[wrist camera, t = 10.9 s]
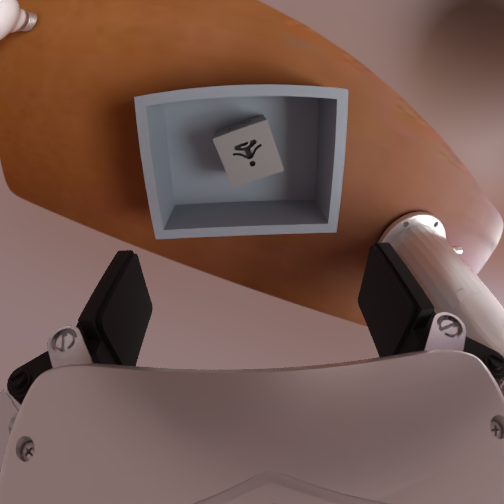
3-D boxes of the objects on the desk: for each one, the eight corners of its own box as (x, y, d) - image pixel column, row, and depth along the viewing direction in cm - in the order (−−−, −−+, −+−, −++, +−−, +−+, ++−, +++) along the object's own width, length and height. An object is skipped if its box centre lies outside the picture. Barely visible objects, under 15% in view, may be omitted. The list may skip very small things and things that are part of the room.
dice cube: (262, 114, 27) (266, 119, 23) (277, 157, 30) (284, 170, 25) (216, 130, 28) (212, 139, 24) (233, 172, 30) (232, 188, 26)
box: (325, 87, 26) (348, 89, 20) (319, 204, 34) (336, 232, 28) (156, 93, 26) (134, 96, 20) (170, 209, 33) (155, 239, 28)
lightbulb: (42, 42, 20) (-17, 43, 10) (11, 46, 18) (-45, 51, 9) (57, -2, 16) (2, -14, 7) (24, 4, 15) (-30, -1, 6)
